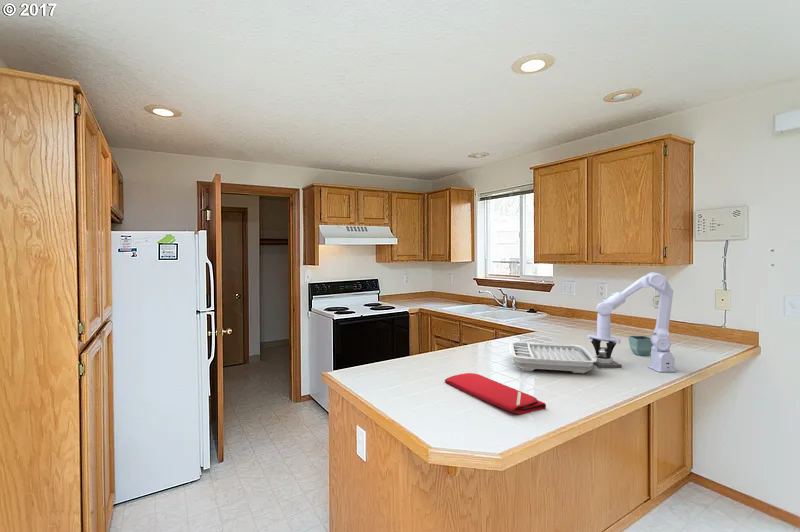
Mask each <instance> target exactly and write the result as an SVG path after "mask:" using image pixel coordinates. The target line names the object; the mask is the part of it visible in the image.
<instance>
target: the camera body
mask: <svg viewBox="0 0 800 532" xmlns="http://www.w3.org/2000/svg"><path fill="white" fill-rule="evenodd" d="M594 357H595V358H596V359H597V361H596V362H593V364H594V365H593V366H595V367H596V366H597V367H596V368H597V369H600V368H623V367H622V366H623V365H622V364H621V363H619V362H617V361H615V360H614V358H613V357H612V356H611V357H610V358H609V359H601V358H599V355H598V356H597V355H596V354H595V355H594Z"/></svg>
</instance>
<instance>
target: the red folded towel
mask: <svg viewBox="0 0 800 532" xmlns="http://www.w3.org/2000/svg"><path fill="white" fill-rule="evenodd" d="M444 383H446V384H448V385H450V386H452V387H453V388H456V389H458V390H460V391H462V392H464V393H467V394H469V395H470V396H472V395H473V397H474V398H477V399H478V400H479V399H480V400H482V401H484V402H487V403H488V404H491V405H493V406H496V407H498V408H501V409H503V410H504V411H508V412H510V413H513V414H516V415H525V414H529V413H533V412H536V411H541V410H546V407H547V404H546V403H545V402H543V401H541V400H539V399H538V398H537V397H536V396H534V395H533V396H532V395H531V394H528V393H525V392H524V391H523V392H522V391H520V390H518V389H515V388H513V387H510V386H509V385H505V384H503V383H500V382H498V381H495V380H493V379H490V378H488V377H486V376H484V375H481V374H478V373H474V372H473V373H472V372H469V373H467V372H466V373H460V374H455V375H451V376H449V377H447V378H445V379H444Z"/></svg>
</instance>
